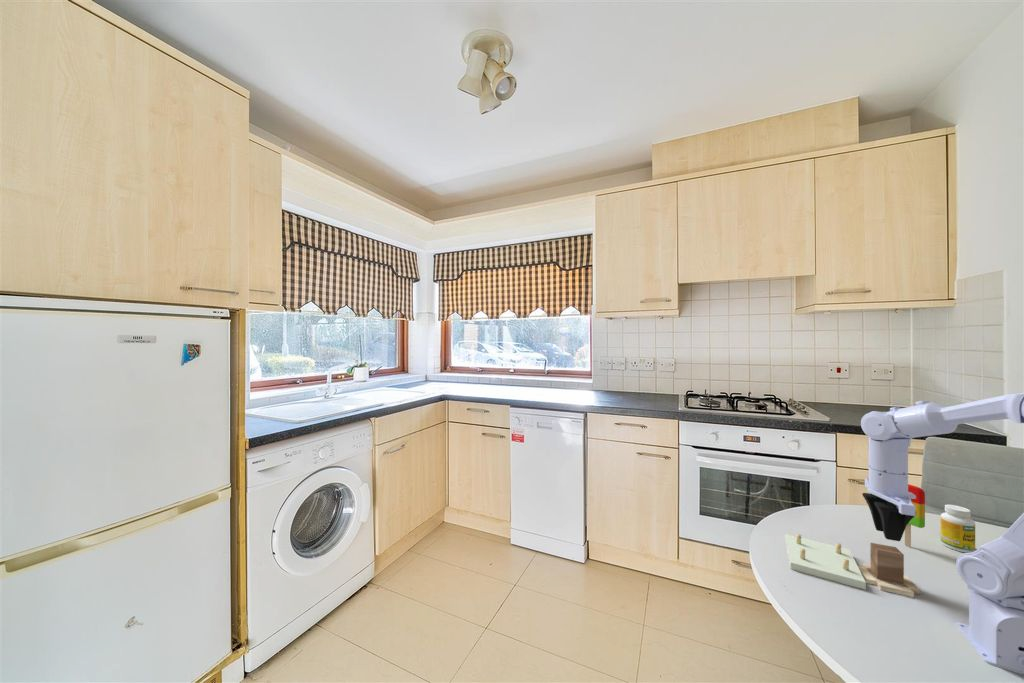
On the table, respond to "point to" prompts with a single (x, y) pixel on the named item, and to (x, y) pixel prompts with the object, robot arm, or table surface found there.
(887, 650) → the table surface
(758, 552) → the table surface
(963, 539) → the supplement bottle
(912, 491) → the popsicle
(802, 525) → the table surface
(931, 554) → the table surface
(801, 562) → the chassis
